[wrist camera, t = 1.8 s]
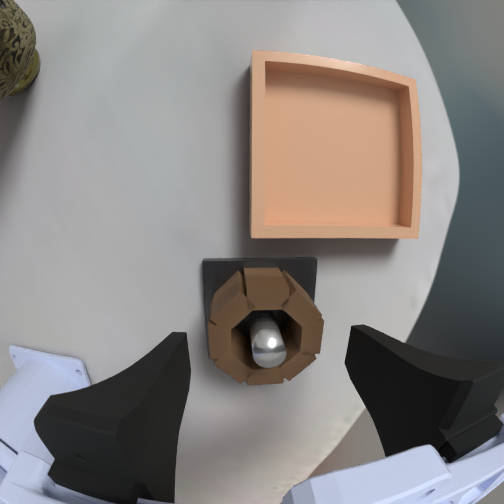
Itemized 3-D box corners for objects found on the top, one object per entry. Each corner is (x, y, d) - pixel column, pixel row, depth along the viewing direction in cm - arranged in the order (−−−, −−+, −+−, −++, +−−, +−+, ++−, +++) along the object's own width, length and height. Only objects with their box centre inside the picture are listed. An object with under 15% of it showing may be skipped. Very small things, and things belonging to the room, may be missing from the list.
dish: (401, 233, 15) (418, 238, 14) (249, 231, 15) (251, 238, 13) (399, 87, 13) (415, 79, 11) (250, 64, 13) (252, 50, 11)
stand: (306, 350, 17) (327, 398, 12) (209, 354, 16) (204, 405, 12) (314, 257, 15) (346, 285, 11) (203, 258, 15) (192, 289, 10)
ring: (302, 349, 16) (315, 380, 13) (215, 353, 16) (212, 385, 13) (309, 266, 15) (327, 286, 12) (210, 268, 14) (205, 289, 12)
